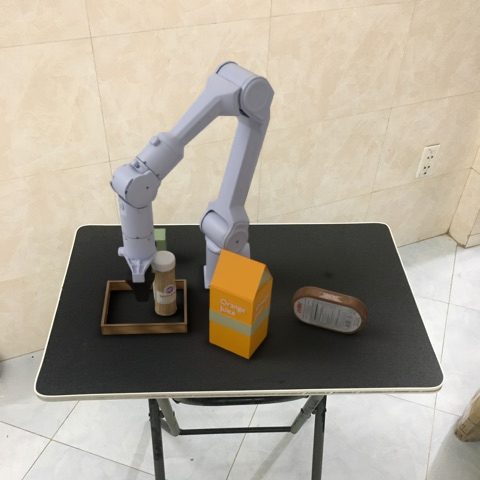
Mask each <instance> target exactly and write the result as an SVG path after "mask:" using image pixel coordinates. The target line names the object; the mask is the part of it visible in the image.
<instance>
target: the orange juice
mask: <svg viewBox="0 0 480 480" xmlns="http://www.w3.org/2000/svg"><path fill="white" fill-rule="evenodd" d="M273 279H274V278H273V275H272V273H271V272H270V270H269V268H268V266H267V264H265V263H262V262H260V261H257V260H255V259H252V258H250V259H249V258H246V257H244V256H241V255H238V254H236V253H233V252H230V251H228V250H225V249H222V250H221V254H220V257H219V260H218V263H217V266H216V269H215V272H214V275H213V278H212V281H211V284H210V289H209V309H208V310H209V311H208V312H209V314H208V315H209V316H208V320H209V335H208V337H209V339H208V340H209V342H208V343H210V344H213V345H216V346H218V347H220V348H222V349H224V350H227V351H229V352H231V353H234V354H235V355H238V356H240V357H243V358H245V359H247V360H250V358H251V357H252V355H253V354H254V353H255V351H256V350H257V349H258V347H259V346H260V345H261V344H262V342H263V341H264V340H265V338H266V337H267V336H268V335H267V334H268V325H269V318H270V317H269V316H270V310H271V299H272V290H273V281H274V280H273Z"/></svg>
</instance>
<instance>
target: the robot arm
mask: <svg viewBox="0 0 480 480" xmlns="http://www.w3.org/2000/svg"><path fill="white" fill-rule="evenodd" d="M274 96H275V90H274V89H273V87H272V85H271V83H270V82H269V80H268V79H267V78H266V77H264V76H262V75H259V74H257V73H255V72H253V71H251V70H249V69H247V68H245V67H243V66H241V65H239V64H238V63H237V62H236V61H233V60H226V61H223V62H222V63H219V65H218V66H217V67H216V69H215V70H214V72H212V73H211V74H210V75H208V76H207V79H206V83H205V87H204V89H203V90H202V92H201V93H200V95H198V97H197V98H196V99H195V101H193V103H192V104H191V105H190V106H189V108H188V109H187V110H186V111H185V112H184V114H183V115H182V116H181V117H180V119H179V120H178V121H177V122H176V123H175V125H174V126H173V127H172V128H171V129H170V130H169V131H161V132H158V133H157V134H155V135H152V136H151V138H149V140H148V144H147V145H145V147H143V148H142V150H141V151H140V152H139V153H138V154H137V155H136V156H135V157H134V158H132V159H131V160H130V161H129V163H125V164H122V165H120V166H118V167H117V168H116V169H115V170H114V172H113V174H112V178H111V180H110V181H109V186H110V187H111V189H112V190H113V192H115V193H116V194H117V201H118V208H119V209H118V210H119V217H120V219H119V220H120V226H121V233H122V241H123V246H119V247H118V250H117V254H118V256H119V257H124V258H125V260H126V263H127V264H128V267H129V268H130V270H124V273H123V280H125V282H126V283H127V284H128V285H129V286H130V287H131V289H132V290H131V291H132V293H133V295H134V297H135V300H136V301H137V302H138V303H148V302H149V301H150V300H149V299H150V295H151V290H150V288H151V285H152V283H153V282H154V280H155V273H153V272H152V266H151V262H152V261H153V259H154V258H155V256H156V254H157V242H156V241H155V237H154V229H155V226H154V211H153V202H154V201H155V199H156V198H157V196H158V192H159V188H160V187H161V186H162V181H163V180H164V179H165V178H166V177H167V176H168V175H169V174H170V173H171V172H172V171H173V169H174V168H175V167H176V166H177V165H178V164H179V163H180V162H182V160H183V159H184V156H185V147H186V146H188V144H190V143H191V141H193V140H194V139H195V138H197V136H198V135H199V134H200V133H202V131H203V130H205V129H207V127H208V126H209V125H210V124H211V123H213V121H215V120H216V119H217V118H218V117H236V120H237V126H236V129H235V132H234V136H233V140H232V145H231V148H230V152H229V155H228V158H227V162H226V167H225V170H224V174H223V176H222V177H223V178H222V180H221V181H222V182H221V185H220V189H219V192H218V196H217V198H216V199H214V200H211V201H208V202H207V207H206V210H205V211H204V213H202V215H201V217H200V220H199V223H198V224H199V230H200V231H201V233H202V234H204V240H205V242H206V243H205V244H206V245H205V265H203V276H204V277H203V278H204V279H203V280H204V289H205V290H210V284H211V281H212V278H213V275H214V272H215V269H216V266H217V263H218V260H219V257H220V254H221V250H222V249H225V250H228V251H230V252H233V253H236V254H238V255H241V256H244V257H246V258H249V259H251V248H250V247H251V246H250V243H249V242H248V241H249V237H250V236H249V235H250V233H249V227H250V218H249V216H248V213H247V211H246V208H245V205H246V201H247V197H248V195H249V191H250V189H251V188H250V187H251V184H252V181H253V178H254V174H255V171H256V168H257V166H258V165H257V164H258V162H259V158H260V155H261V151H262V149H263V145H264V142H265V138H266V135H267V131H268V128H269V124H270V121H271V106H272V103H273V99H274Z"/></svg>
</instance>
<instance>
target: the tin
mask: <svg viewBox="0 0 480 480" xmlns="http://www.w3.org/2000/svg"><path fill="white" fill-rule="evenodd" d="M292 297H293V298H292V301H291V305H290V309H291V313H292V314H293V316H294V317H295V318H296V319H298V321H300V322H302V323H304V324H307V325H310V326H314V327H318V328H321V329H325V330H329V331H333V332H336V333H341V334H343V335H344V334H346V335H351V334H356V333H357V332H359V331H361V330H362V329H363V328H364V326H365V324H366V320H367V318H368V313H369V311H368V308H367V307H366V305H365V304H364V303H363V302H362V301H361V300H360V299H358V298H357V297H354V296H351V295H347V294H344V293H339V292H335V291H331V290H327V289H324V288H320V287H317V286H304V287H301V288H298V289H297V290H296V291H295V292H294V294H293V296H292Z"/></svg>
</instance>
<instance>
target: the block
mask: <svg viewBox="0 0 480 480" xmlns="http://www.w3.org/2000/svg"><path fill="white" fill-rule="evenodd" d="M166 235H167V233H166V228H154V237H155V241H156V242H157V252H158V251H168V248H167V236H166Z"/></svg>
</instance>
